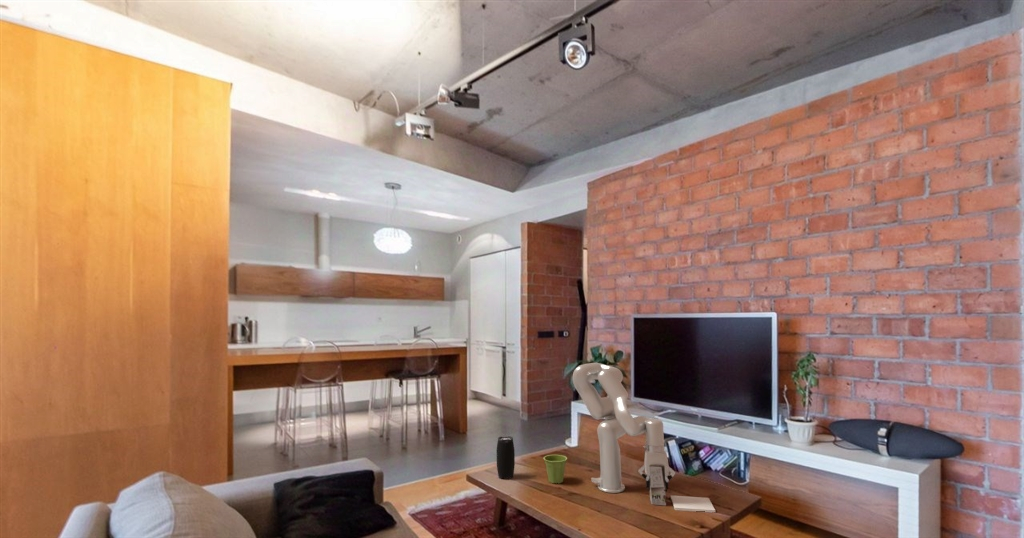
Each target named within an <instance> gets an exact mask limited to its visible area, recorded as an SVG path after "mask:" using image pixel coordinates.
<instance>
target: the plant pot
mask: <svg viewBox="0 0 1024 538" xmlns="http://www.w3.org/2000/svg"><path fill="white" fill-rule="evenodd" d="M543 460H544V464H545V467H546V473H547V478H548V482H549V483H550V484H557V483H558V484H562V483H563V482H564V478H565V477H564V476H565V467H566V462H567V460H568V457H567V456H566V455H562V454H548V455H545V456H543Z"/></svg>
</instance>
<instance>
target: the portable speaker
mask: <svg viewBox="0 0 1024 538" xmlns="http://www.w3.org/2000/svg"><path fill="white" fill-rule="evenodd" d="M515 458H516V457H515V445H514V438H513V436H510V435H509V436H498V437H497V445H496V469H497V475H498V479H500V480H502V479H503V478H505V479H508V480H512V479H513V478H514V474H515V466H516V465H515V464H516V461H515V460H516V459H515Z"/></svg>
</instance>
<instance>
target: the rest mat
mask: <svg viewBox="0 0 1024 538" xmlns="http://www.w3.org/2000/svg"><path fill="white" fill-rule="evenodd" d="M670 500H671V502H672V505H673V508H674V509H673V510H675V511H683V512H696V511H705V512H704V513H712V512H715V513H716V509H715V507H714V505H713V504H712V502H711V500H710V498H709V497H704V496H703V497H700V496H698V497H697V496H686V495H683V496H682V495H670Z"/></svg>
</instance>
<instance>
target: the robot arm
mask: <svg viewBox="0 0 1024 538" xmlns="http://www.w3.org/2000/svg"><path fill="white" fill-rule="evenodd" d="M595 380H597V381H598V382H599V384H600V386H601V387H602V389H603V390H604V392H605V393H606V394H607V396H603V397H602V396H601V395H600V394H599V392H598V390H597V389H596V387H595V386H594V385H593V384H592V383H591V382H590V381H595ZM623 380H624V376H623V373H622V371H621V369H619V368H617V367H615V366H612V365H607V364H604V363H601V362H591V363H584V364H580V365H578V366H577V367H576V368H575V369H574V370H573V374H572V383H573V386H574V388H575V390H576V391H577V393H578V394H579V397H580V398H581V400H582V401H583V404H584V405H585V406H586V409H587V411H588V413H589V414H590V416H591V417H592V418H593V419H595V420H602V419H605V420H603V421H601V422H600V423H599V424H598V426H597V431H596V432H597V433H596V434H597V437H598V438H597V439H598V443H599V458H600V460H599V461H600V475H599V477H591V482H592V483H593V484H595V485H596V484H597V488H598V490H599V491H602V492H605V493H610V494H618V493H622V492H624V491H625V489H626V487H625V484H624V483H622V465H621V449H620V444H619V441H618V439H619V438H621V437H624V436H625V435H628V436H630V437H638V436H640V435H642V434H645V438H646V443H645V444H643V449H646V450H645V451H644V462H643V463H644V464H643V465H642V466H641V467H640V468H639V469H638V470H637V471H638V473H639V474H640V476H641V477H643V478H644V480H645V484H646V485H645V487H646V488H647V490H648V491H650V481H649V478H650V465H660V466H664V467H665V489H666V492H668V489H669V482H670V480H671V479H673V477H674V476H675V475H676V472H675V470H674V469H673V468H671V467H670V466H669V461H668V459H669V457H668V454H667V451H666V450H665V437H664V423H663V421H662V420H661V419H658V418H650V417H647V416H643V415H638V416H635V417H633V416H632V414H631V412H630V411H629V408H628V404H627V401H628V397H629V393H628V391H627V390H626V389H625V387H624V386H623V384H622V382H623ZM643 471H644V472H643Z"/></svg>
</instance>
